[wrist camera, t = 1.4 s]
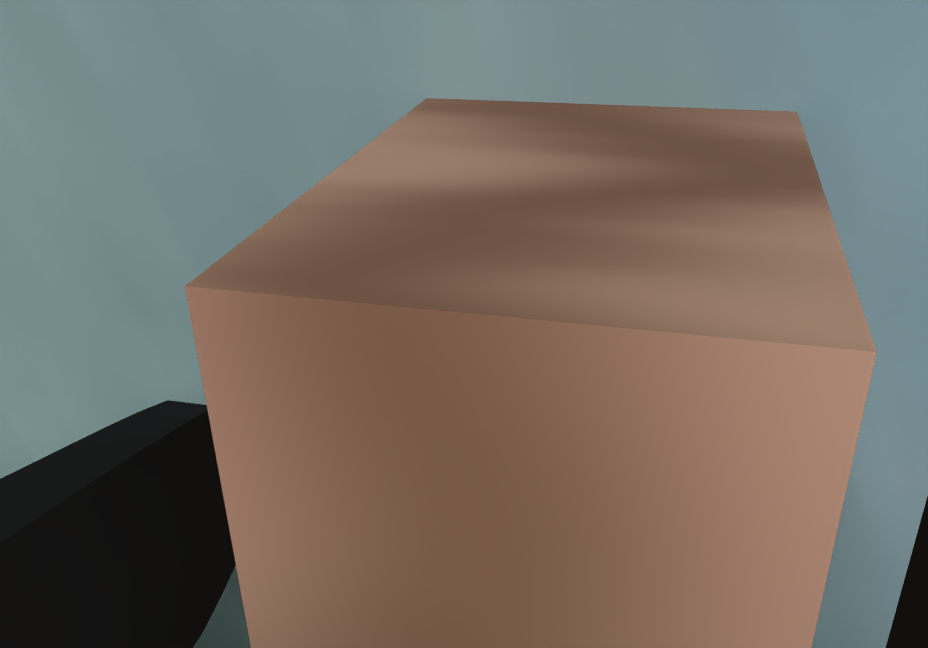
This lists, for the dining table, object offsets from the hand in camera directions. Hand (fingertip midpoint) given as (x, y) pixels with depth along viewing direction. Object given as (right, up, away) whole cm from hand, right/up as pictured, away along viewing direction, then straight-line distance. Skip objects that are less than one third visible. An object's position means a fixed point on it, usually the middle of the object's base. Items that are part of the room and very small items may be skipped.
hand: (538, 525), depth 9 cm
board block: (+1, +2, +3) cm, 4 cm away
